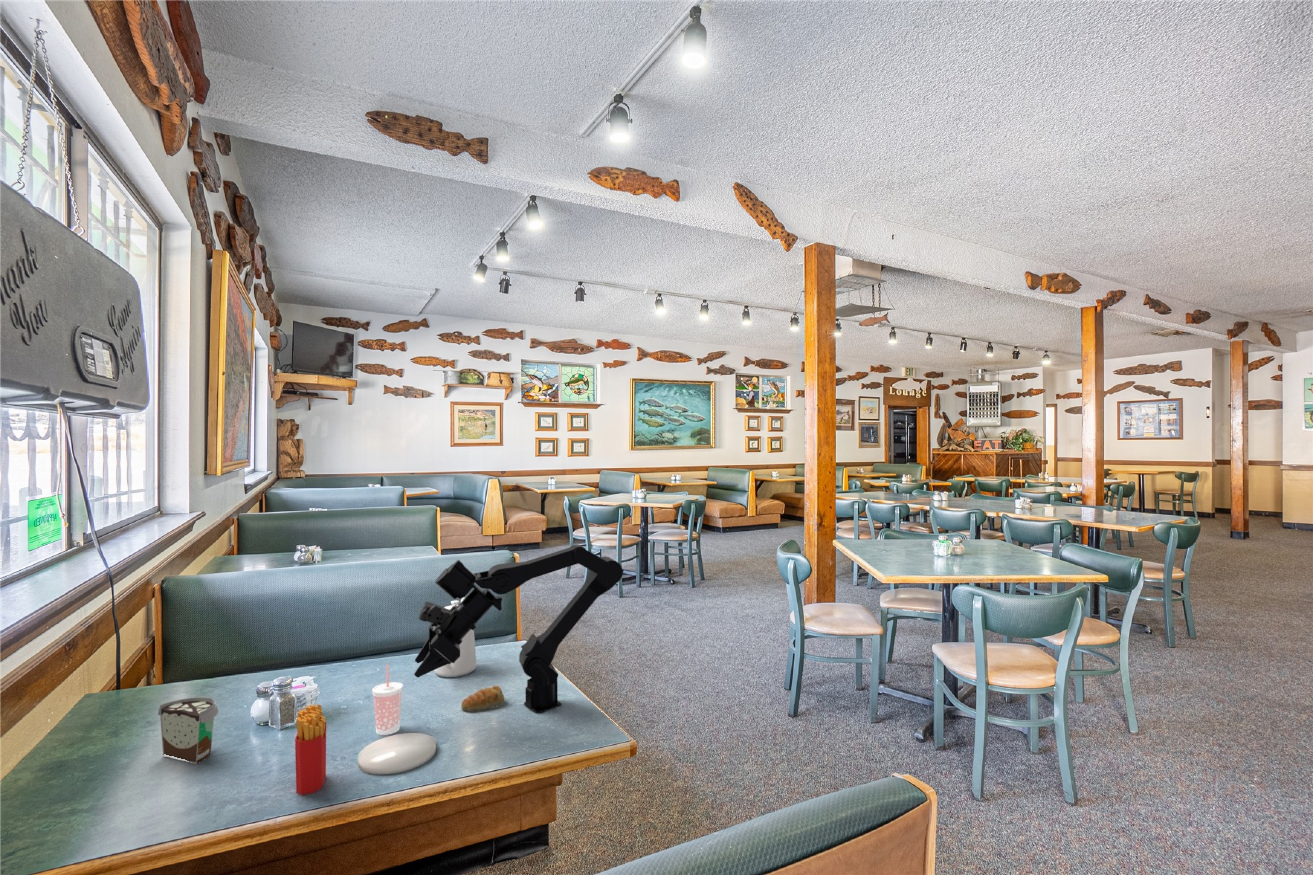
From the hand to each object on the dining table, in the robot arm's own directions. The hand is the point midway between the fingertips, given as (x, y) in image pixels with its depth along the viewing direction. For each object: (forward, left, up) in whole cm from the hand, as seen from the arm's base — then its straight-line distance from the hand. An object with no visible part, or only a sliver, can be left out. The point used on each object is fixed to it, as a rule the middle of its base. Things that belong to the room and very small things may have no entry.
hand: (416, 668), depth 134 cm
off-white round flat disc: (+7, +11, -12) cm, 18 cm away
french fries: (+22, +11, -12) cm, 28 cm away
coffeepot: (-20, -27, -12) cm, 36 cm away
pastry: (-16, 0, -13) cm, 20 cm away
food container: (+37, -17, -12) cm, 43 cm away
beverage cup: (+5, -2, -12) cm, 14 cm away
